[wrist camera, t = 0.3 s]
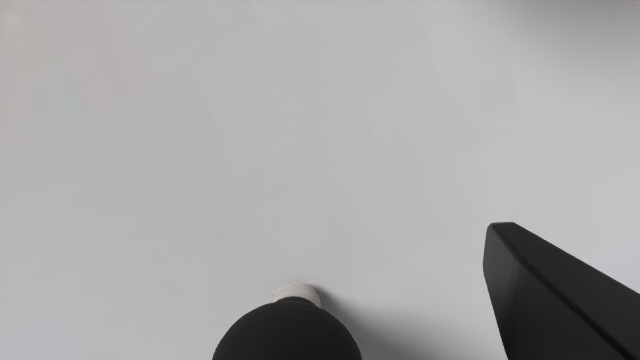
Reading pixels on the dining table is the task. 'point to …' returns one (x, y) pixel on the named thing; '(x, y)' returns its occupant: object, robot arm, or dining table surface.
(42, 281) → the dining table surface
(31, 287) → the dining table surface
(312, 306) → the light bulb
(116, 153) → the dining table surface
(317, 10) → the dining table surface
